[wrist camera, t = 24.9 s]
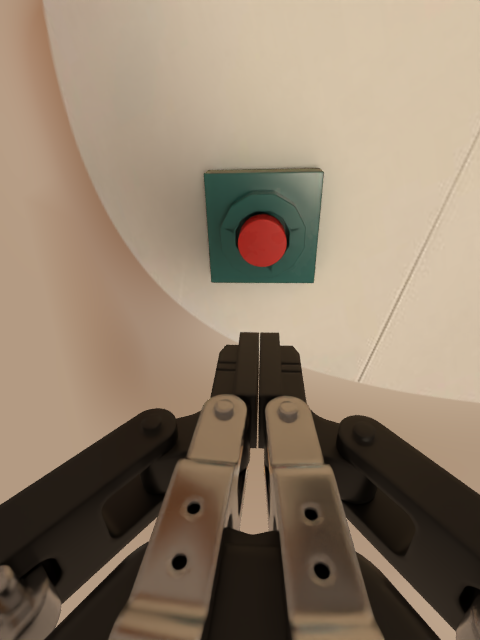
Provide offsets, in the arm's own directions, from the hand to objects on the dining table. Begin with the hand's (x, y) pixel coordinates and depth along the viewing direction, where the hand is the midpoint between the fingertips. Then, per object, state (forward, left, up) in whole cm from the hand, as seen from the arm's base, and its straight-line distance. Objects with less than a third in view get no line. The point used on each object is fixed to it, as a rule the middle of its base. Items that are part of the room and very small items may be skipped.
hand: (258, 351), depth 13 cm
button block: (0, 0, -19) cm, 19 cm away
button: (0, 0, -15) cm, 15 cm away
